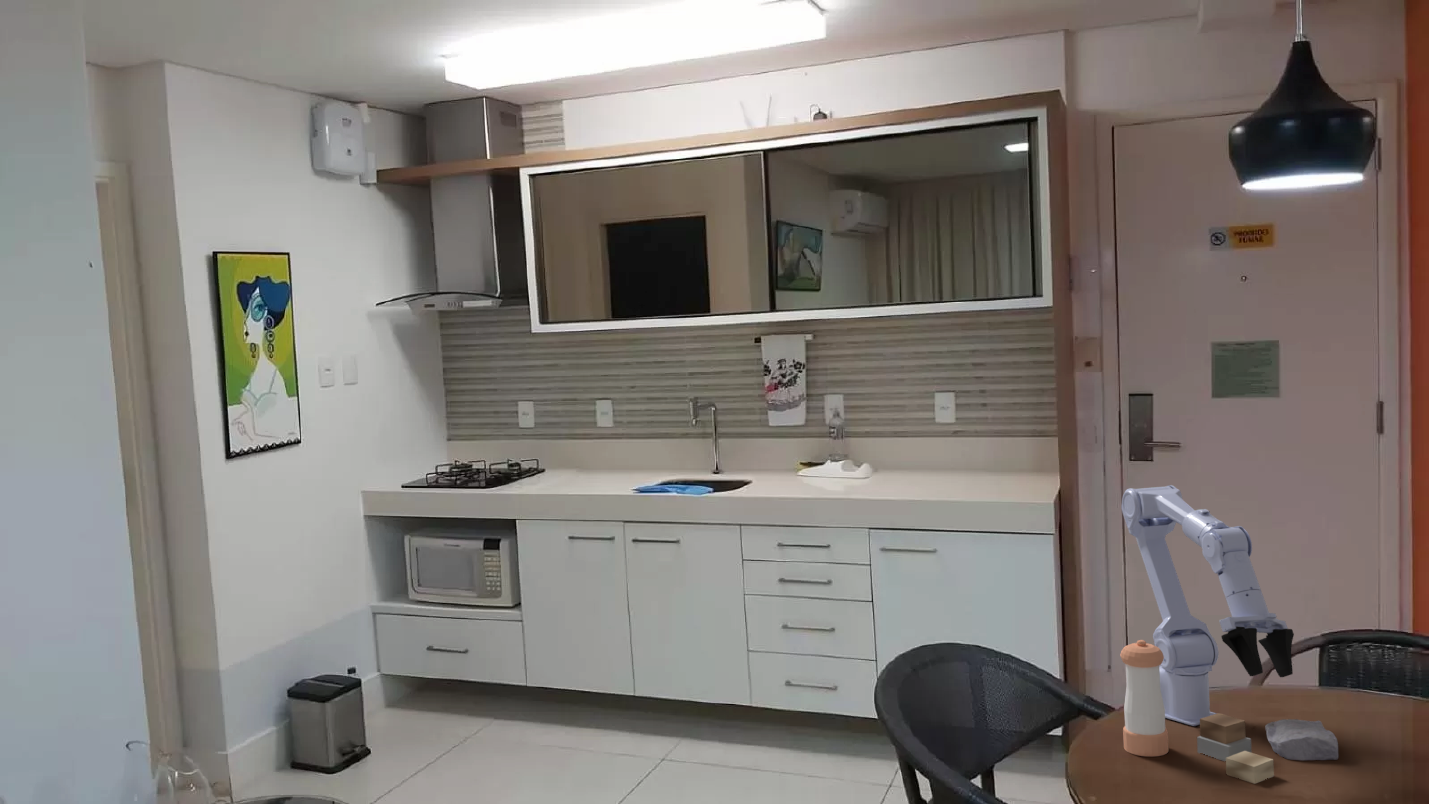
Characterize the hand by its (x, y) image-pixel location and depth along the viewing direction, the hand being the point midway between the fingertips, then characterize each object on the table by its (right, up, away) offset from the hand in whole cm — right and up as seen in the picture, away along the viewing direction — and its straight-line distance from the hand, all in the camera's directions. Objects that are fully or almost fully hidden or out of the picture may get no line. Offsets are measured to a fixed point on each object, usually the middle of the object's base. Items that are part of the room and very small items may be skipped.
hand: (1271, 675), depth 182 cm
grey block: (-4, -16, +8) cm, 18 cm away
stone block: (+9, -15, +9) cm, 19 cm away
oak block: (-4, -16, -2) cm, 17 cm away
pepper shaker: (-16, -16, +12) cm, 26 cm away
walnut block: (-4, -12, +8) cm, 16 cm away
